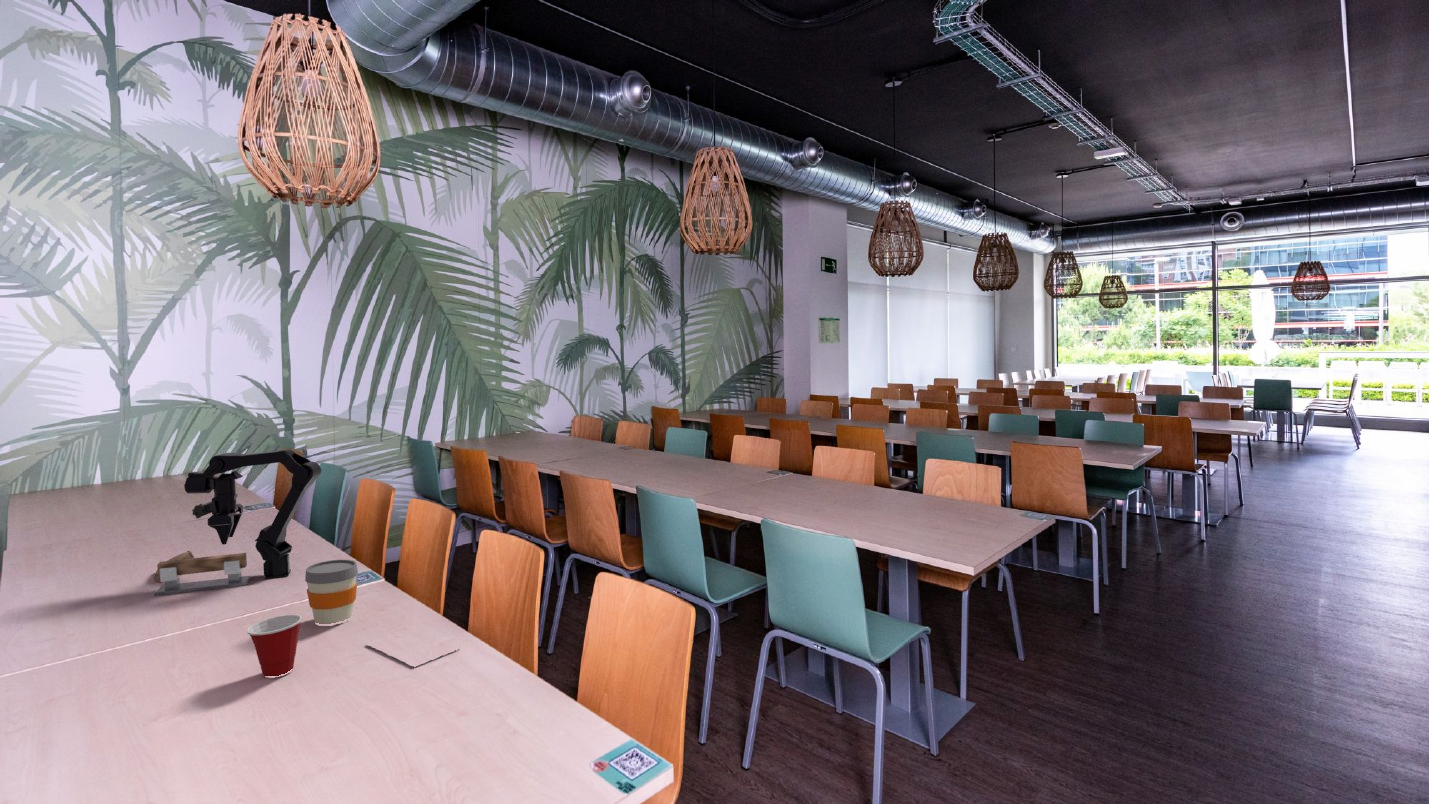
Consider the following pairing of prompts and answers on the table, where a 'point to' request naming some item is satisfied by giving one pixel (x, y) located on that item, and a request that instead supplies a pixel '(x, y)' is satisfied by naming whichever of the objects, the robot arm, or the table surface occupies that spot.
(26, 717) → the table surface
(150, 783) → the table surface
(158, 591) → the bracket stand
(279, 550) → the robot arm
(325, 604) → the reusable coffee cup
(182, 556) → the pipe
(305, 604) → the table surface
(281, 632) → the plastic cup
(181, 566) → the rail
